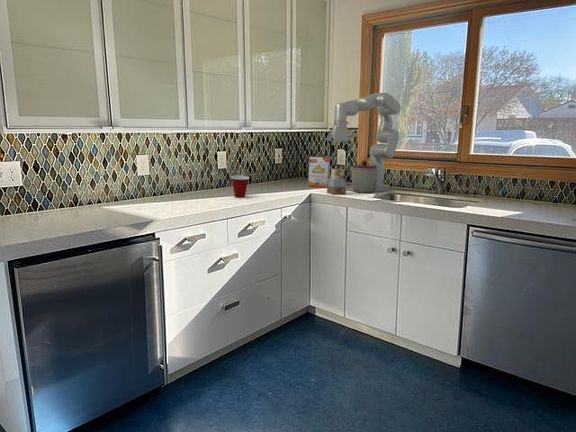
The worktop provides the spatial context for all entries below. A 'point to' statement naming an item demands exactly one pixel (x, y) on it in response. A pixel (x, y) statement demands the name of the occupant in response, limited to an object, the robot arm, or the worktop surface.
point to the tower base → (336, 190)
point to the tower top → (337, 182)
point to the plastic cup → (240, 185)
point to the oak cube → (337, 173)
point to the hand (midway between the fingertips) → (338, 151)
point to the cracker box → (319, 171)
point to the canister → (363, 177)
